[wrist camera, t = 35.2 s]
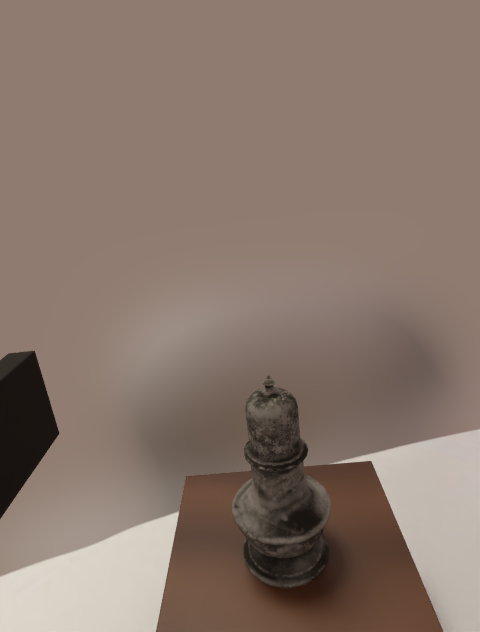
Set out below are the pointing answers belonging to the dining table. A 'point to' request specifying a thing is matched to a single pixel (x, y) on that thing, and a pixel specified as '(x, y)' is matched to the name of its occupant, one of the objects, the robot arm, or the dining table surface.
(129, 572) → the dining table surface
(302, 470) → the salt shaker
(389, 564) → the lid
